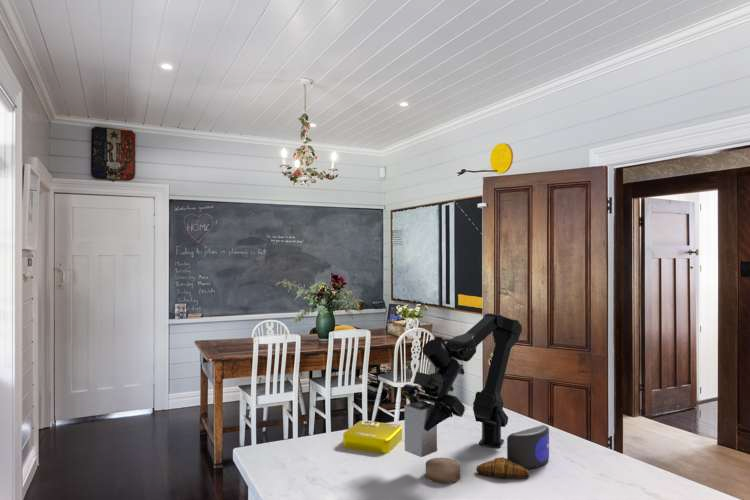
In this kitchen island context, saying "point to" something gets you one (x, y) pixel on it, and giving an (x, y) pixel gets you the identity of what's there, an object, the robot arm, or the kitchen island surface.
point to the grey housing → (419, 429)
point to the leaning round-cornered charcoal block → (529, 447)
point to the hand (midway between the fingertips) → (417, 427)
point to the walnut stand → (443, 470)
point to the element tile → (372, 436)
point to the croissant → (502, 469)
